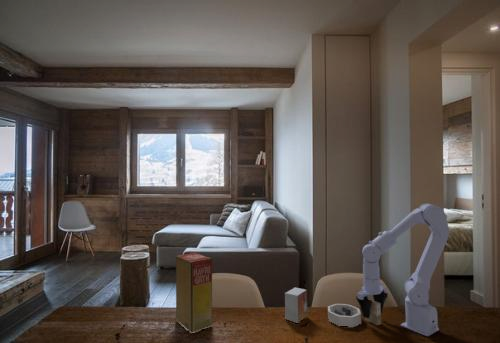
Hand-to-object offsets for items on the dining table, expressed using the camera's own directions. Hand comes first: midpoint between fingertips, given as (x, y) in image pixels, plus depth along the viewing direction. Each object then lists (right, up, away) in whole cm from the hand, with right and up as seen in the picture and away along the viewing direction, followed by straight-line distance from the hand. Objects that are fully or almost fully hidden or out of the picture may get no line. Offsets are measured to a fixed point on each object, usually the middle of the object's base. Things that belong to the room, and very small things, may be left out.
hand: (372, 314), depth 111 cm
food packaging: (-66, -4, +1) cm, 67 cm away
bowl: (-10, -3, +2) cm, 10 cm away
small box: (-28, -4, +4) cm, 28 cm away
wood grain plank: (0, -3, 0) cm, 3 cm away
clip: (-10, -3, +2) cm, 10 cm away
